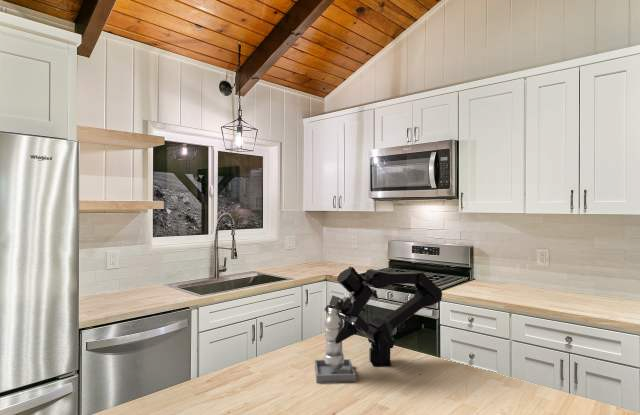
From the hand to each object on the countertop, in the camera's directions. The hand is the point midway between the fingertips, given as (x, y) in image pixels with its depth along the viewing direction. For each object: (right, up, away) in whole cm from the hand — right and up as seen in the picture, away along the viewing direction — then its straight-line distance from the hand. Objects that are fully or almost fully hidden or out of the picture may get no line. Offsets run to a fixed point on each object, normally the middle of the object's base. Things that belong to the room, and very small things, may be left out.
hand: (331, 339), depth 132 cm
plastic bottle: (+1, -10, +1) cm, 10 cm away
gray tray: (+1, -11, +1) cm, 11 cm away
